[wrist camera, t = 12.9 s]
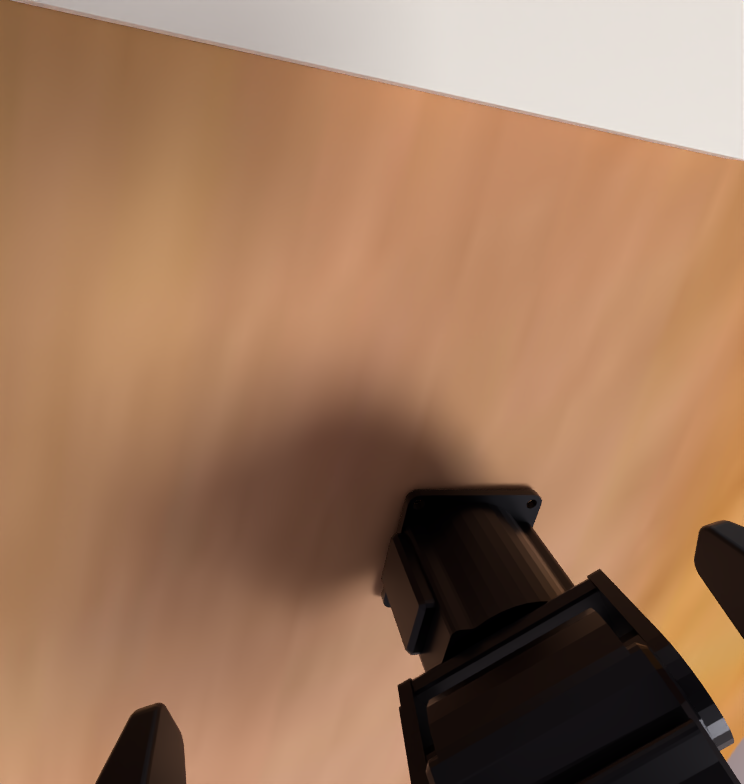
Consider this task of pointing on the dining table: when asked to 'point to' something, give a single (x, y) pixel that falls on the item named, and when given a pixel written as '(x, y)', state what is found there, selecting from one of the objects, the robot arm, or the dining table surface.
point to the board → (499, 54)
